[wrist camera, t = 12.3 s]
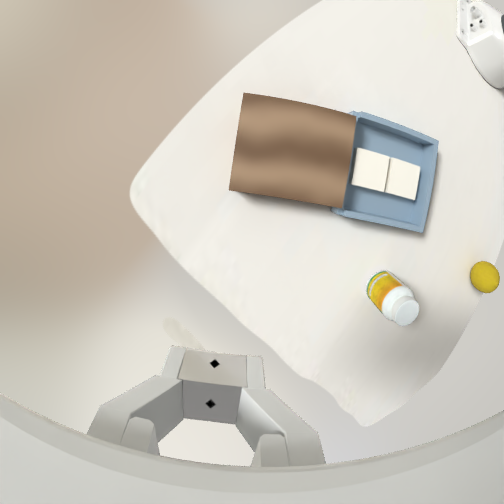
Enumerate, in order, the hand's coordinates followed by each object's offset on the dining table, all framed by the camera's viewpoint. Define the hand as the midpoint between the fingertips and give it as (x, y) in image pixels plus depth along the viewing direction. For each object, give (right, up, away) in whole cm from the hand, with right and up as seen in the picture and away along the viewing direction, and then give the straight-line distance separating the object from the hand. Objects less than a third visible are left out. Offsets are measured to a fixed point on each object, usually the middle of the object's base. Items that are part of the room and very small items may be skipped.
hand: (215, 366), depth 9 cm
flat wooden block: (+6, +17, +26) cm, 32 cm away
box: (+20, +15, +27) cm, 37 cm away
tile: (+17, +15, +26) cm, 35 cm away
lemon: (+44, +1, +32) cm, 55 cm away
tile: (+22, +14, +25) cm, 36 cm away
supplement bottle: (+22, -1, +32) cm, 39 cm away
